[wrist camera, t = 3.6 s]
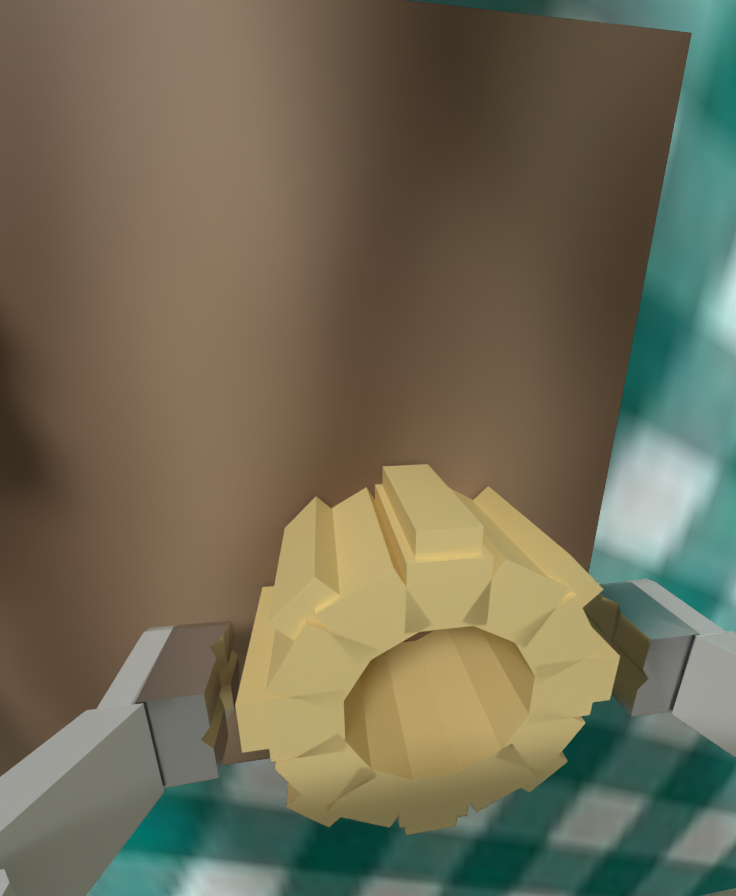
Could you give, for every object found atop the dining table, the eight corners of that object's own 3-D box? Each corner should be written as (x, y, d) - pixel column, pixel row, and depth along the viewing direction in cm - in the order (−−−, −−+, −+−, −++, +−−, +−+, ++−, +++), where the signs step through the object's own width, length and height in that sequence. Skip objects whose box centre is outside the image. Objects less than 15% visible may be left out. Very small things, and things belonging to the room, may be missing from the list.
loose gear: (542, 457, 8) (659, 516, 5) (512, 677, 10) (588, 808, 7) (251, 471, 7) (210, 550, 5) (276, 707, 9) (257, 869, 6)
